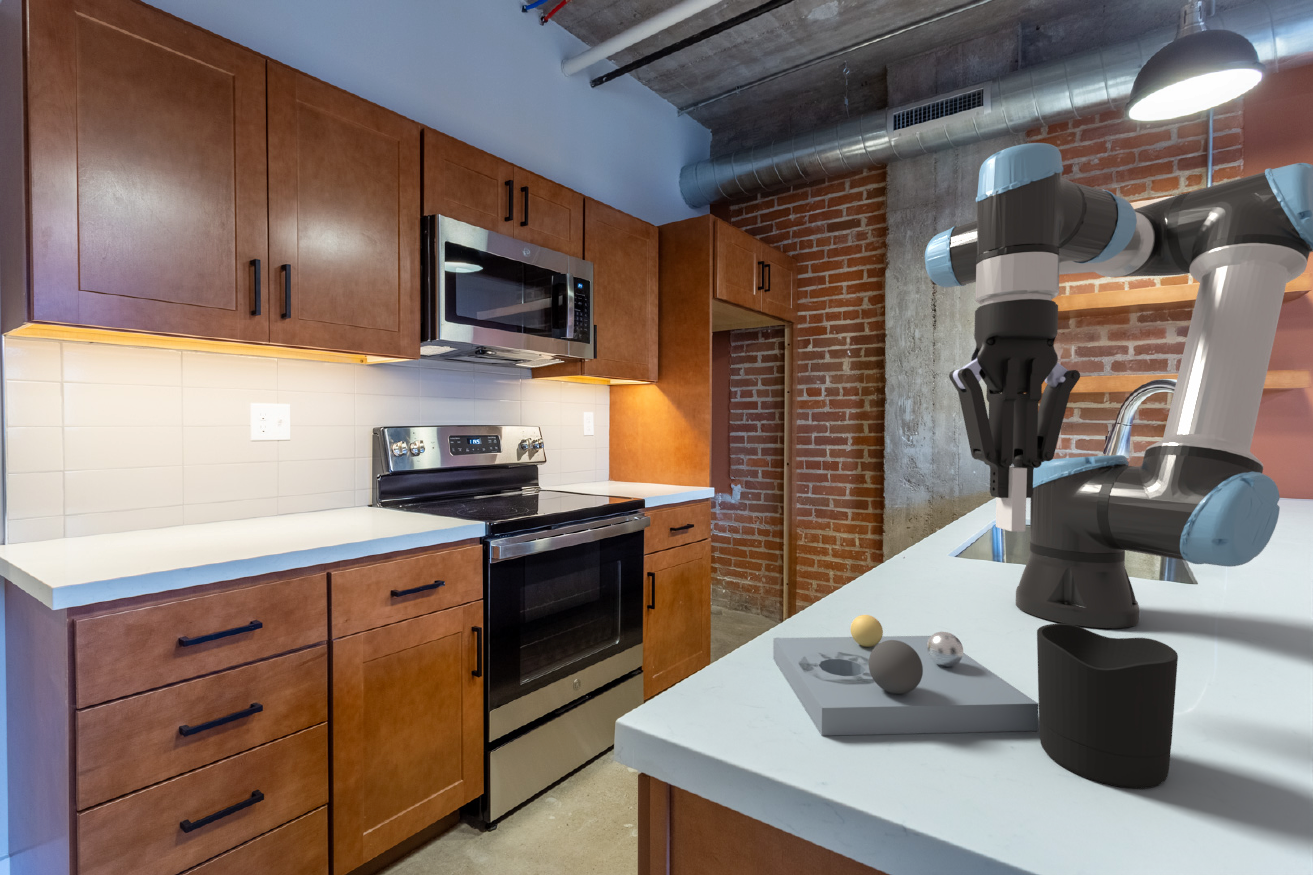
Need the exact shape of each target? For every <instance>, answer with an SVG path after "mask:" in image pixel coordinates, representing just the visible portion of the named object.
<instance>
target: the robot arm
mask: <svg viewBox="0 0 1313 875" xmlns="http://www.w3.org/2000/svg"><path fill="white" fill-rule="evenodd" d="M1063 172H1064V166H1063V160H1062V153H1061V152H1060V149H1059V147H1057V146H1056V145H1053V144H1051V143H1045V142H1031V143H1030V142H1029V143H1022V144H1017V145H1013V146H1010V147H1007V148H1005V149H1001V150H1000V151H997V152H995V153H993V154H992V155H990V156H989V157H988V158H987V159H985V160H984V161H983V163H982V164H981V166H980V167H979V175H978V183H977V184H978V185H977V186H978V187H977V195H976V197H975V202H976V220H975V221H972V222H968V223H964V224H962V225H959V226H956V225H955V226H952V227H951V228H949V229H947V230H944V231H941V232H940V233H938V234H935V235H934V236H933V237H932V238H931V240H929V242H928V243H927V246H926V248H925V251H924V263H925V267H924V268H925V270H926V272H927V275H928V277H929V279H930V280H931V281H932V282H933V283H934V284H936V285H937V286H938V287H942V288H952V287H965V286H966V285H969V284H973V283H975V301H976V303H978V304H979V305H980V306H978V307H977V309H975V310H974V334H973V336H974V341H975V344H976V345H975V349H974V351H973V353H971V354H972V355H971V360H970V362H969V363H967V364H966V365H964V366H962V367H961V368H959V369H953V370H951V371H950V372H949V374H948V378H949V380H950V381H951V383H952V384H953V386H954V388H955V390H956V392H957V393H958V398H959V403H960V407H961V411H962V416H963V421H964V427H965V431H966V435H967V440H968V444H969V449H970V455H971V457H972V458H973V459H974V460H978V461H980V462H983V463H984V464H985V465H987V466H989V469H990V470H989V471H990V472H989V493H990V495H991V497H993V498H996V499H995V500H996V502H995V503H996V504H995V528H998V529H1002V530H1004V531H1008V532H1026V520H1027V516H1026V515H1027V499H1030V504H1029V505H1030V510H1029V512H1030V515H1029V516H1030V518H1029V523H1030V524H1029V526H1030V527H1029V529H1030V530H1029V556H1028V560H1027V562H1026V565H1025V567H1024V569H1023V572H1022V573H1021V577H1020V580H1019V582H1018V585H1017V587H1016V589H1015V606H1016V607H1017V608H1018V609H1019V610H1021V611H1023V612H1025V613H1026V614H1028V615H1032V616H1035V617H1038V618H1040V619H1044V620H1048V621H1053V622H1058V623H1060V624H1071V625H1075V626H1078V627H1086V628H1096V629H1097V628H1098V629H1100V628H1101V629H1123V628H1124V629H1125V628H1131V627H1135V626H1136V625H1138V624H1139V623H1140V604H1139V602H1138V601H1137V599H1136V595H1135V592H1134V589H1133V586H1132V582H1131V580H1130V577H1129V575H1128V571H1127V569H1126V565H1125V564H1126V563H1125V561H1126V560H1125V559H1126V551H1127V552H1133V553H1139V554H1145V555H1149V556H1156V557H1163V558H1167V559H1168V558H1169V559H1174V560H1180V561H1185V562H1186V561H1187V562H1189V563H1191V564H1194V565H1204V564H1205V565H1211V566H1220V567H1227V568H1228V567H1238V566H1242V565H1245V564H1247V563H1249V562H1251V561H1252V560H1253V559H1254V558H1256V557H1258V556H1259V555H1260V554H1261V553H1262V552H1263V551H1264V550H1265V548H1266V547H1267V545H1268V544H1269V542H1270V541H1271V538H1272V536H1273V534H1274V532H1275V530H1276V527H1277V523H1278V519H1279V515H1280V505H1278V503H1279V501H1280V499H1281V497H1280V491H1279V488H1278V486H1277V483H1276V482H1275V481H1274V480H1273V479H1272V478H1271V477H1270V476H1268V475H1266V474H1264V473H1263V471H1264V463H1263V462H1262V461H1261V460H1260V459H1259V458H1257V456H1256V455H1254V454H1253V453H1252V452H1251V447H1252V442H1253V438H1254V433H1255V429H1256V424H1257V419H1258V415H1259V410H1260V408H1261V407H1260V405H1261V401H1262V397H1263V392H1264V388H1265V382H1266V379H1267V374H1268V369H1269V365H1270V360H1271V356H1272V351H1273V346H1274V342H1275V338H1276V332H1277V329H1278V328H1277V327H1278V322H1279V320H1280V319H1279V318H1280V314H1281V310H1282V304H1283V300H1284V297H1285V296H1284V295H1285V292H1286V286H1287V283H1290V282H1291V281H1294V280H1296V279H1297V278H1299V277H1300V276H1301V275H1302V274H1304V272H1305V271H1306V269H1307V265H1308V260H1309V257H1310V253H1313V164H1311V163H1307V162H1298V163H1293V164H1288V165H1284V166H1279V167H1277V168H1270V167H1269V168H1266V169H1265V170H1264V171H1263V172H1259V173H1256V174H1252V175H1249V176H1245V177H1241V178H1237V179H1233V180H1230V181H1225V182H1222V183H1218V184H1215V185H1211V186H1206V187H1204V188H1199V189H1195V190H1192V191H1189V192H1185V193H1181V194H1177V195H1174V196H1171V197H1168V198H1165V199H1162V200H1159V201H1156V202H1153V203H1149V204H1147V205H1143V206H1139V207H1136V208H1134V206H1133V205H1132V204H1131V202H1130V201H1128V200H1127V199H1125V198H1123V197H1121V196H1118V195H1116V194H1114V193H1113V192H1112V191H1109V190H1106V189H1101V188H1097V187H1092V186H1089V185H1085V184H1080V183H1078V182H1073V181H1071V180H1068V179H1066V178H1062V177H1063ZM1084 273H1096V274H1097V275H1099V276H1103V277H1106V278H1120V277H1121V278H1123V277H1125V278H1126V277H1127V278H1128V277H1169V276H1181V275H1188V274H1190V276H1191V277H1192V278H1193V279H1194V280H1196V281H1197V282H1198V283H1199V285H1198V291H1197V294H1196V298H1195V303H1194V305H1193V310H1192V316H1191V319H1190V323H1189V328H1188V332H1187V336H1186V340H1185V343H1184V347H1183V348H1184V350H1183V354H1182V356H1181V361H1180V366H1179V370H1178V374H1177V377H1176V378H1177V379H1176V383H1175V387H1174V391H1173V395H1172V399H1171V403H1170V408H1169V411H1168V417H1167V419H1166V420H1167V421H1166V424H1165V429H1164V433H1163V438H1162V439H1161V440H1158V441H1157V442H1155V443H1153V444H1151V445H1149V446H1147V447H1146V449H1145V451H1144V456H1143V460H1142V463H1141V466H1139V465H1138V466H1137V465H1135V466H1134V465H1133V466H1132V465H1129V463H1130V462H1129V461H1128V459H1127V457H1126V455H1123V454H1117V455H1116V454H1115V455H1110V454H1109V455H1095V456H1093V455H1092V456H1079V457H1078V456H1077V457H1064V458H1054V457H1055V453H1056V450H1057V449H1056V448H1057V445H1058V441H1059V438H1060V433H1061V429H1062V425H1063V423H1064V422H1063V421H1064V418H1065V415H1066V410H1067V406H1068V402H1069V398H1070V396H1071V393H1072V391H1073V389H1074V388H1075V386H1076V384H1077V383H1078V381H1079V380H1080V378H1081V374H1080V373H1081V372H1079V370H1077V369H1071V370H1070V369H1067V368H1065V366H1063V365H1062V364H1061V363H1059V362H1058V361H1059V356H1058V354H1057V352H1056V349H1055V347H1054V344H1055V340H1056V337H1057V336H1058V332H1059V331H1058V330H1059V327H1058V326H1059V304H1058V303H1056V301H1054V300H1053V299H1055V298H1057V296H1058V295H1059V294H1060V275H1071V274H1084ZM981 380H982V381H983V382H984V384H985V386H986V396H985V397H984V393H983V388H982V386H981V384H980V381H981ZM1043 383H1045V384H1046V386H1045V388H1044V390H1043ZM1042 390H1043V391H1042ZM985 398H986V401H987V402H988V410H987V406H986V402H985ZM1039 402H1040V404H1039ZM1012 465H1013V466H1012Z"/></svg>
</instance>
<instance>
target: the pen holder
mask: <svg viewBox="0 0 1313 875" xmlns="http://www.w3.org/2000/svg"><path fill="white" fill-rule="evenodd" d="M1036 642H1037V646H1036V648H1037V650H1036V651H1037V688H1038V691H1037V692H1038V695H1037V696H1038V726H1039V738H1040V741H1039V742H1040V745H1041V747H1042V749H1043V750H1044V751H1045V753H1046V754H1047V756H1048V757H1049V759H1051V760H1052V761H1053V762H1055V763H1056V764H1058V765H1059V766H1061V767H1063V768H1064V769H1065V770H1068V771H1070V772H1072V773H1073V774H1075V775H1078V776H1081V777H1083V778H1084V779H1085V778H1086V779H1088V780H1091V781H1094V782H1097V783H1100V784H1106V785H1109V786H1113V787H1118V788H1125V789H1150V788H1154V787H1158V786H1159V785H1161V784H1162V783H1163V782H1165V781H1166V779H1167V778H1168V775H1169V772H1170V771H1169V770H1170V763H1171V762H1170V761H1171V752H1172V750H1171V749H1172V744H1173V743H1172V740H1173V729H1174V728H1173V727H1174V714H1175V700H1176V688H1177V687H1176V686H1177V672H1178V660H1179V656H1178V652H1177V650H1175V649H1174V648H1173V647H1171V646H1169V645H1168V644H1166V643H1164V642H1162V641H1159V640H1156V639H1152V638H1149V637H1147V638H1146V637H1125V638H1124V637H1122V638H1120V637H1119V638H1118V637H1117V638H1116V637H1108V636H1104V635H1101V634H1098V633H1096V632H1093V631H1091V630H1088V629H1086V628H1083V627H1082V626H1078V625H1072V624H1066V623H1050V624H1044V625H1042V626H1039V627H1038V628H1037V630H1036Z"/></svg>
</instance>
